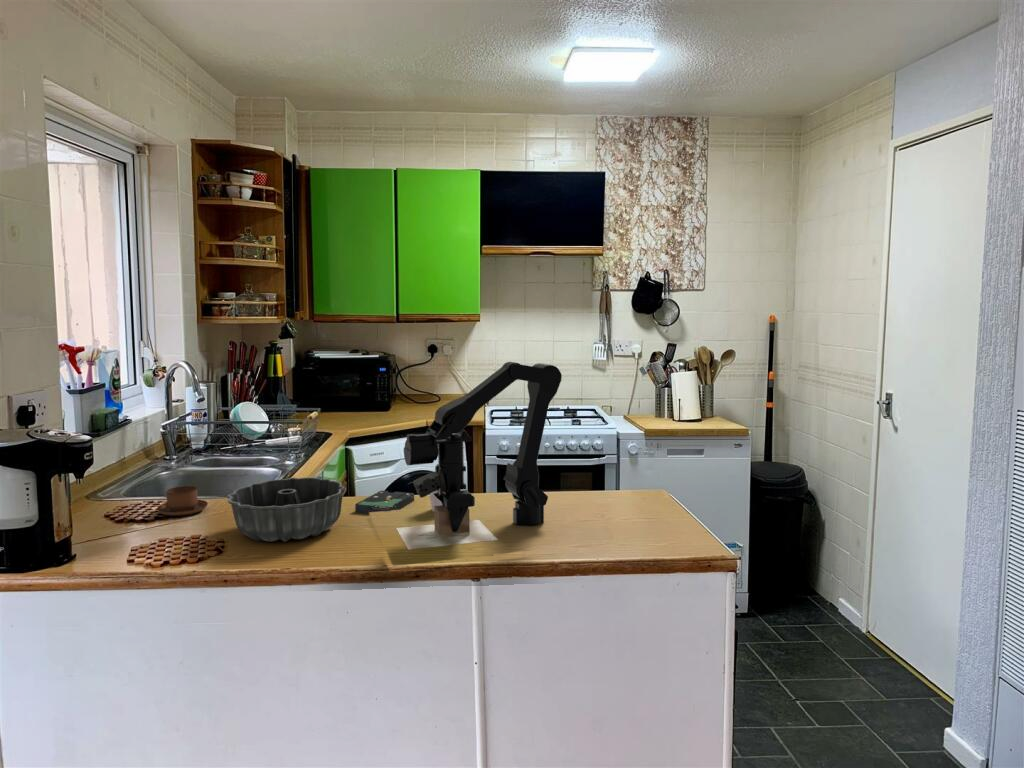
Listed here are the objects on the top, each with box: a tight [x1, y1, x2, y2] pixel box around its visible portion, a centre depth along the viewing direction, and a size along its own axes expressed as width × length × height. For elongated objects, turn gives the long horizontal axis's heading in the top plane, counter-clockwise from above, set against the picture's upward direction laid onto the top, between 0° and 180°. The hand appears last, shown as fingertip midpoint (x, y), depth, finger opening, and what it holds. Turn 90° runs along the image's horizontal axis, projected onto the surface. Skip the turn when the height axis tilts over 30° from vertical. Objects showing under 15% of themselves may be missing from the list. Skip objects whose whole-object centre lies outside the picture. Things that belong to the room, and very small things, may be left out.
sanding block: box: [433, 505, 471, 538], centre depth 169 cm, size 7×5×6 cm
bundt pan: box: [226, 477, 346, 543], centre depth 175 cm, size 26×26×10 cm
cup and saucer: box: [156, 485, 208, 517], centre depth 192 cm, size 12×12×6 cm
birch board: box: [396, 519, 498, 551], centre depth 169 cm, size 20×16×1 cm
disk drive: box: [355, 490, 415, 514], centre depth 196 cm, size 10×3×15 cm
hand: (452, 528), depth 169 cm, fingers closed on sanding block, 5 cm apart
